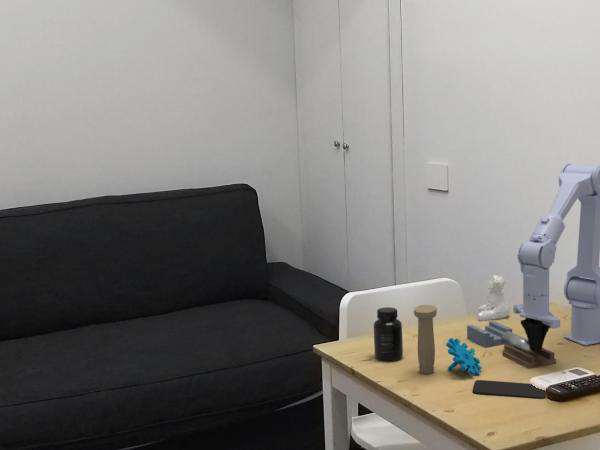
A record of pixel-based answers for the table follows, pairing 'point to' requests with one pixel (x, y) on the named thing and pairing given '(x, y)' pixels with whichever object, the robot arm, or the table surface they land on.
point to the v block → (487, 334)
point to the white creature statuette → (494, 302)
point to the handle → (426, 337)
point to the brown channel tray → (529, 357)
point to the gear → (463, 357)
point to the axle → (517, 342)
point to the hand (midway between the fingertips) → (536, 350)
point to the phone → (507, 389)
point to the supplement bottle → (388, 335)
